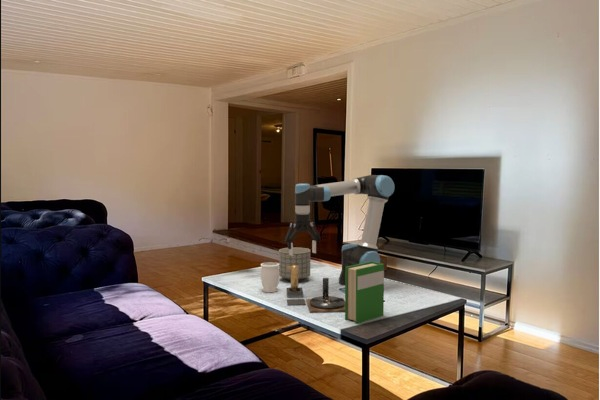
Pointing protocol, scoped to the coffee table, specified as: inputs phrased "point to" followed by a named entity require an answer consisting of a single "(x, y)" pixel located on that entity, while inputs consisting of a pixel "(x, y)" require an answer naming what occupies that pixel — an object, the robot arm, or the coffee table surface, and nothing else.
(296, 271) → the hook peg
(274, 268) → the jar
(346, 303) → the hardback book
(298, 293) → the eye block
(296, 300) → the pad
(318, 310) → the wheel base
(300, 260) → the planter
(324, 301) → the handwheel
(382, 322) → the coffee table surface
